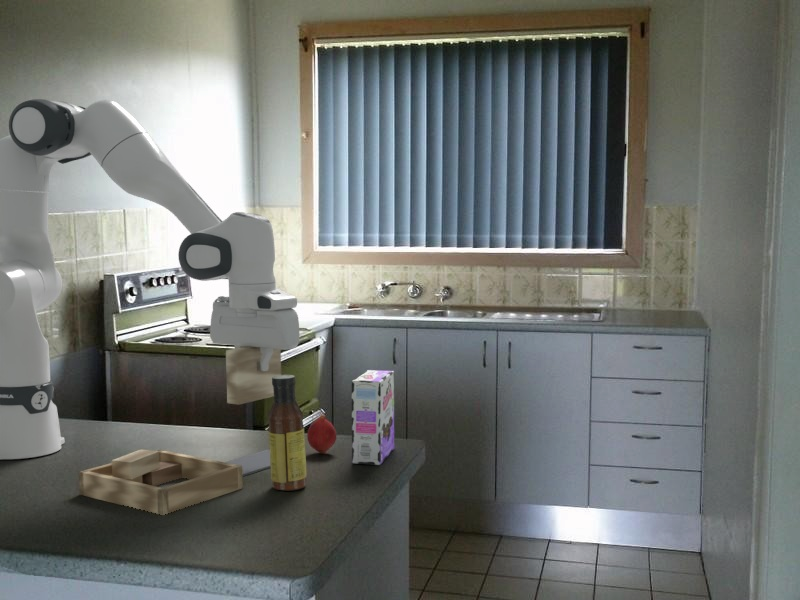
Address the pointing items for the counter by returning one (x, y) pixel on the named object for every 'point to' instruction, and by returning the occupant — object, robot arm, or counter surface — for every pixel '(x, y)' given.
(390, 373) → the candy box
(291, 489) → the sauce bottle
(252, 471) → the felt pad
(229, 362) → the pale wooden block
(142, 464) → the offcut beech
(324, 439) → the onion
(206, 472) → the wooden tray
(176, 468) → the offcut walnut
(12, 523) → the counter surface
